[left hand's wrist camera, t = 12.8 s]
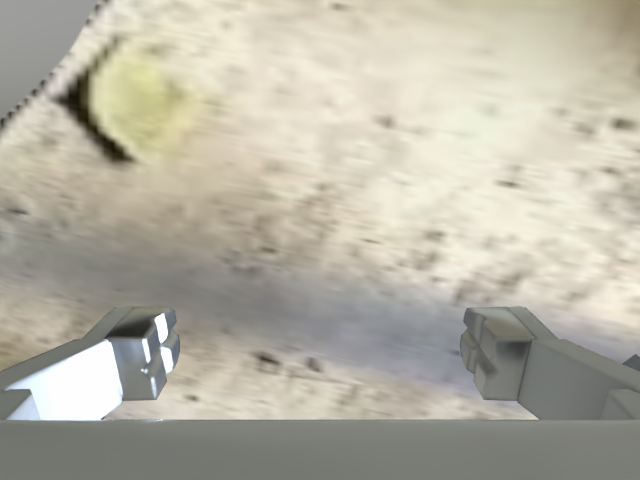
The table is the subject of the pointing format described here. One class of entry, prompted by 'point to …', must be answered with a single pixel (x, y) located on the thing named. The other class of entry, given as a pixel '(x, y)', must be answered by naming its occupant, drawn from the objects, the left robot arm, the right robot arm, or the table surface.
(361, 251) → the table surface
